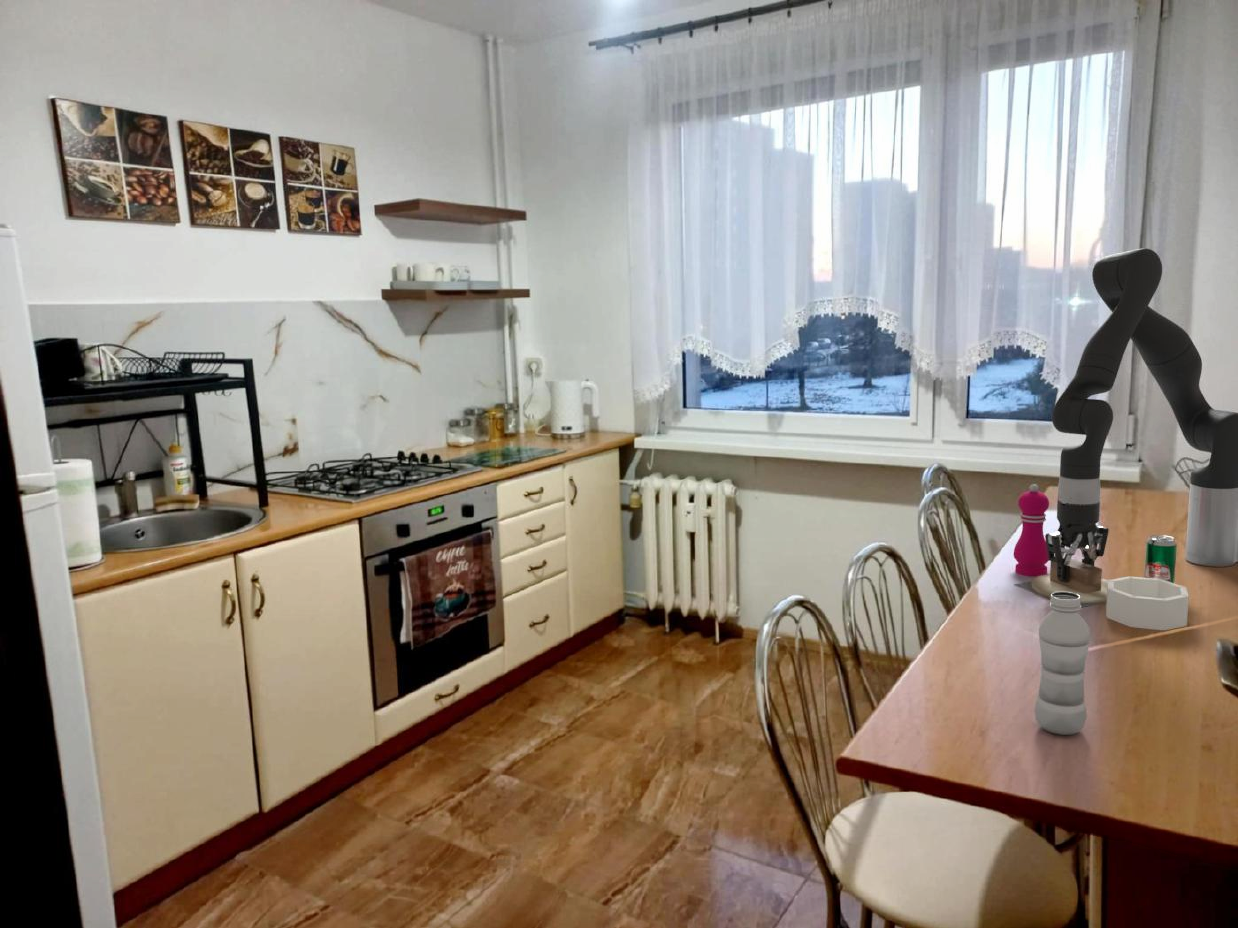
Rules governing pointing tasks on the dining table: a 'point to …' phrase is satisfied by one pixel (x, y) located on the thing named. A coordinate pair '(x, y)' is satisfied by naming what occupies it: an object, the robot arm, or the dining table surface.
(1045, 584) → the lid
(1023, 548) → the pepper mill
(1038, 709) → the plastic bottle
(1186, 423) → the robot arm
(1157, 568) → the soda can
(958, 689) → the dining table surface
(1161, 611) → the bowl
